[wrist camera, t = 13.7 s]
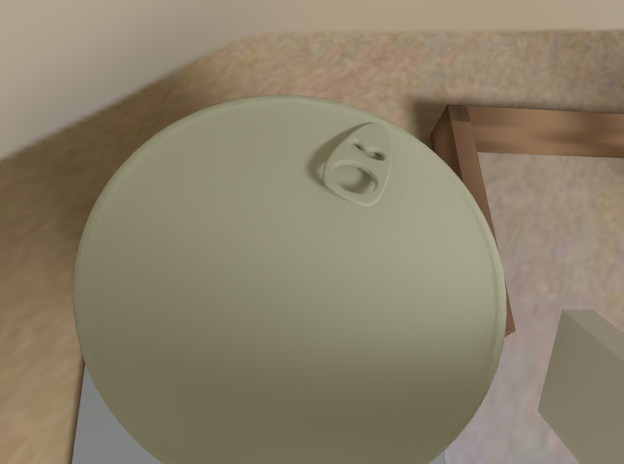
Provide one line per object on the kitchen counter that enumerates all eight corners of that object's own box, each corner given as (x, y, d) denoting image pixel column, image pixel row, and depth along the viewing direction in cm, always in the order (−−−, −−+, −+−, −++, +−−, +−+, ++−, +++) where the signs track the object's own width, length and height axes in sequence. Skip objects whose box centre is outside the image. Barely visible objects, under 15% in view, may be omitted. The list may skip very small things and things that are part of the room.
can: (411, 327, 23) (567, 187, 12) (319, 548, 19) (434, 624, 8) (226, 231, 24) (223, 21, 13) (98, 423, 20) (-56, 346, 9)
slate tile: (407, 224, 26) (410, 219, 25) (453, 557, 20) (459, 559, 19) (108, 218, 24) (105, 212, 23) (59, 586, 18) (54, 589, 17)
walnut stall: (708, 147, 31) (745, 120, 29) (794, 341, 26) (847, 327, 24) (430, 134, 29) (447, 104, 26) (468, 346, 24) (492, 331, 21)
